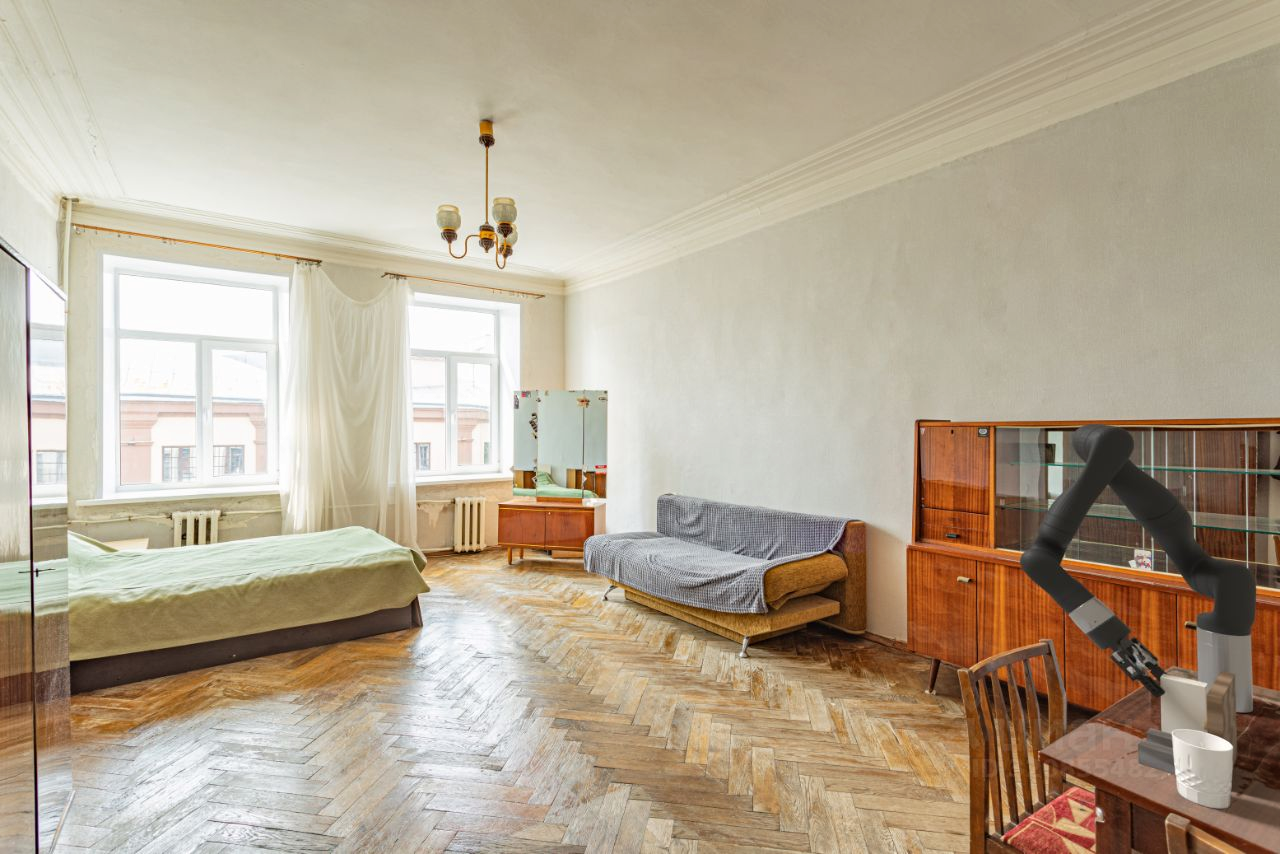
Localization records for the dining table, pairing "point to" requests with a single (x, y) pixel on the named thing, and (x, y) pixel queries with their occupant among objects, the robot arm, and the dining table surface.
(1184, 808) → the dining table surface
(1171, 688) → the plain white rectangular block
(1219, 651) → the robot arm
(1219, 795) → the white cup
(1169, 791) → the dining table surface
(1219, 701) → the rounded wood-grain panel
